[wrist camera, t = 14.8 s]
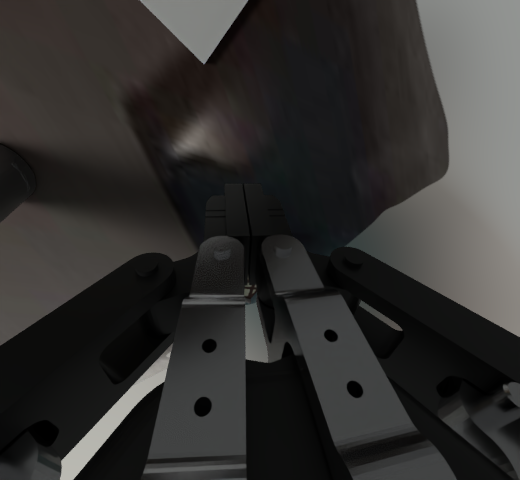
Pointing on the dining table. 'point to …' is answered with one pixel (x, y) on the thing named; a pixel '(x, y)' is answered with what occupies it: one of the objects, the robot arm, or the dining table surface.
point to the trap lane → (197, 21)
